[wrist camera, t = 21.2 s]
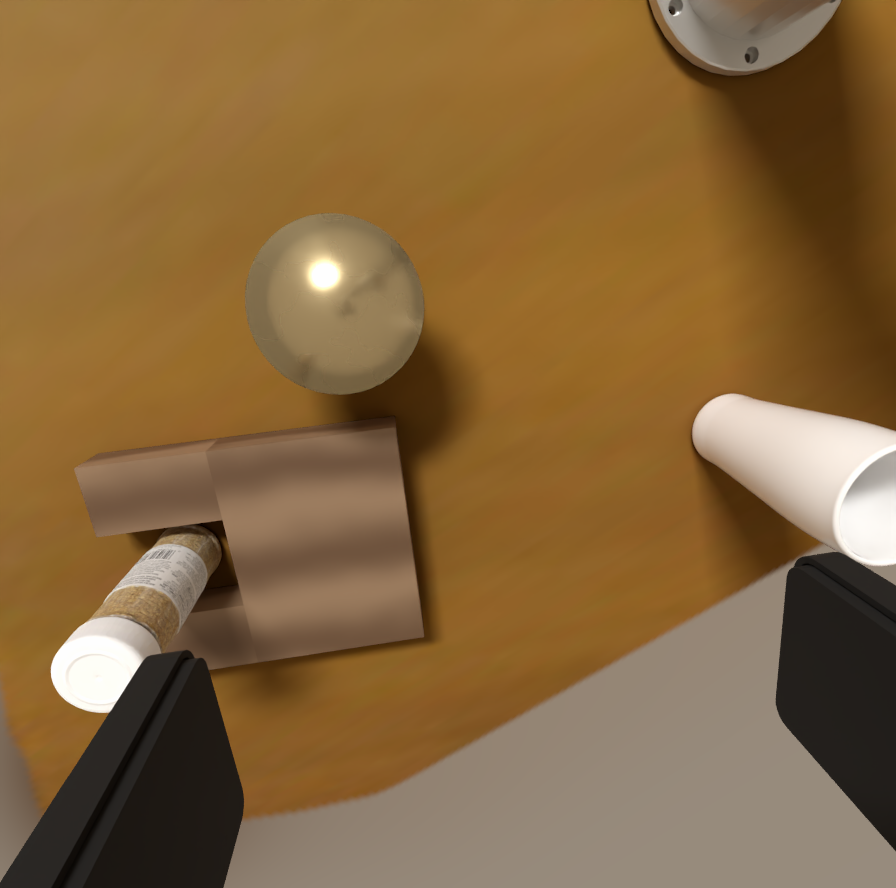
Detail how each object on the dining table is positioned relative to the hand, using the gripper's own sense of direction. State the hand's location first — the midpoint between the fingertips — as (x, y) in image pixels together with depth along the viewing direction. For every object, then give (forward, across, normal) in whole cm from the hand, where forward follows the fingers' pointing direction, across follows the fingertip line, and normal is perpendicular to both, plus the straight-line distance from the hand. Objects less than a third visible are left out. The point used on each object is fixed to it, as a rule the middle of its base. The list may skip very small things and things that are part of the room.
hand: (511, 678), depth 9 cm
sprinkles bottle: (+31, +18, +11) cm, 37 cm away
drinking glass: (+31, -22, +7) cm, 38 cm away
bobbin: (+30, +4, -5) cm, 31 cm away
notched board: (+30, +12, +11) cm, 34 cm away
